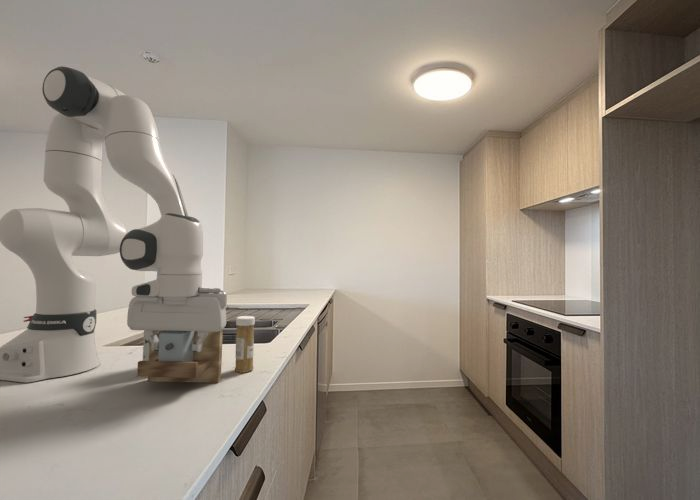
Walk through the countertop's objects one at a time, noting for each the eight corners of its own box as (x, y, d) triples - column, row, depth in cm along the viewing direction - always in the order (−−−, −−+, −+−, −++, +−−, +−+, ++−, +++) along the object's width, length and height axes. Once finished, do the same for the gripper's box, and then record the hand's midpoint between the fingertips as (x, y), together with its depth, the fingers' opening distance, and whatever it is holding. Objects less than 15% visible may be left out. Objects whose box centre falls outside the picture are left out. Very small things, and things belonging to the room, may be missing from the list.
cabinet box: (155, 369, 67) (156, 334, 68) (170, 360, 73) (172, 329, 74) (179, 369, 68) (180, 335, 68) (193, 360, 74) (194, 329, 74)
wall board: (126, 393, 67) (129, 334, 67) (151, 378, 75) (153, 326, 76) (204, 395, 67) (206, 336, 67) (220, 380, 76) (222, 328, 76)
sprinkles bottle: (255, 371, 82) (257, 317, 83) (237, 374, 80) (238, 318, 80) (250, 366, 86) (251, 314, 86) (232, 369, 83) (234, 316, 84)
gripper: (232, 287, 75) (229, 348, 74) (142, 285, 75) (140, 346, 74) (221, 289, 69) (218, 356, 68) (123, 287, 68) (120, 354, 68)
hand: (176, 351), depth 71 cm, fingers open, 7 cm apart
